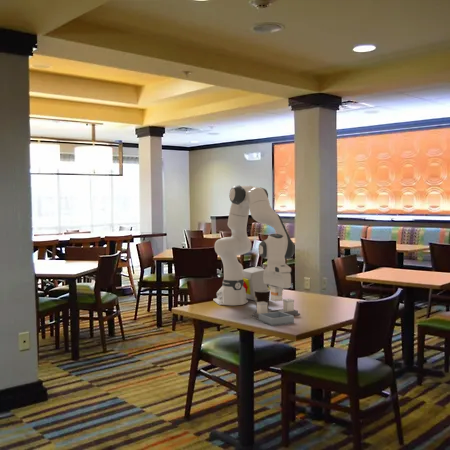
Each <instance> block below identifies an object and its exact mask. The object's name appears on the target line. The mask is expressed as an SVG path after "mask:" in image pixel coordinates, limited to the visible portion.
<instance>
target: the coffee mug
mask: <svg viewBox="0 0 450 450" xmlns="http://www.w3.org/2000/svg"><path fill="white" fill-rule="evenodd" d="M270 298H271V289H270V290H269V289H268V290H255V299H256V301H255V306H256V307H255V308H256V309H257V302H262V301H264V302H267V303H268V307H269V305H270V304H269V303H270Z"/></svg>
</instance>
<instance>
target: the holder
mask: <svg viewBox="0 0 450 450" xmlns="http://www.w3.org/2000/svg"><path fill="white" fill-rule="evenodd" d="M279 311H281V312H284V313H286V314H289V315H292V316H294V317H295V316H300V315H301V313H299V310H297V309H294V311H284V310H283V308H281V309H272V310H268V313H270V312H279ZM250 317H251V318H253V319H254V320H255V319H256V320H257V321H259V314H258V313H257V311H253V312H252V314H251V315H250Z"/></svg>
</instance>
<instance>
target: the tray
mask: <svg viewBox="0 0 450 450" xmlns="http://www.w3.org/2000/svg"><path fill="white" fill-rule="evenodd" d="M258 321H259V322H261V323H263V324H266V325H268V326H271V327H275V326H276V327H277V326H283V325H290V324H295V316H292V315H289V314H286V313H284V312H281V311H279V312H270V313H261V314H259V320H258Z"/></svg>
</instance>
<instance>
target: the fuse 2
mask: <svg viewBox="0 0 450 450" xmlns="http://www.w3.org/2000/svg"><path fill="white" fill-rule="evenodd" d="M282 299H283V298H282ZM282 304H283V305H282V307H283V308H282V309H283V310H284V311H294V310H295V299H293V298H284V299H283V301H282Z"/></svg>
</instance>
